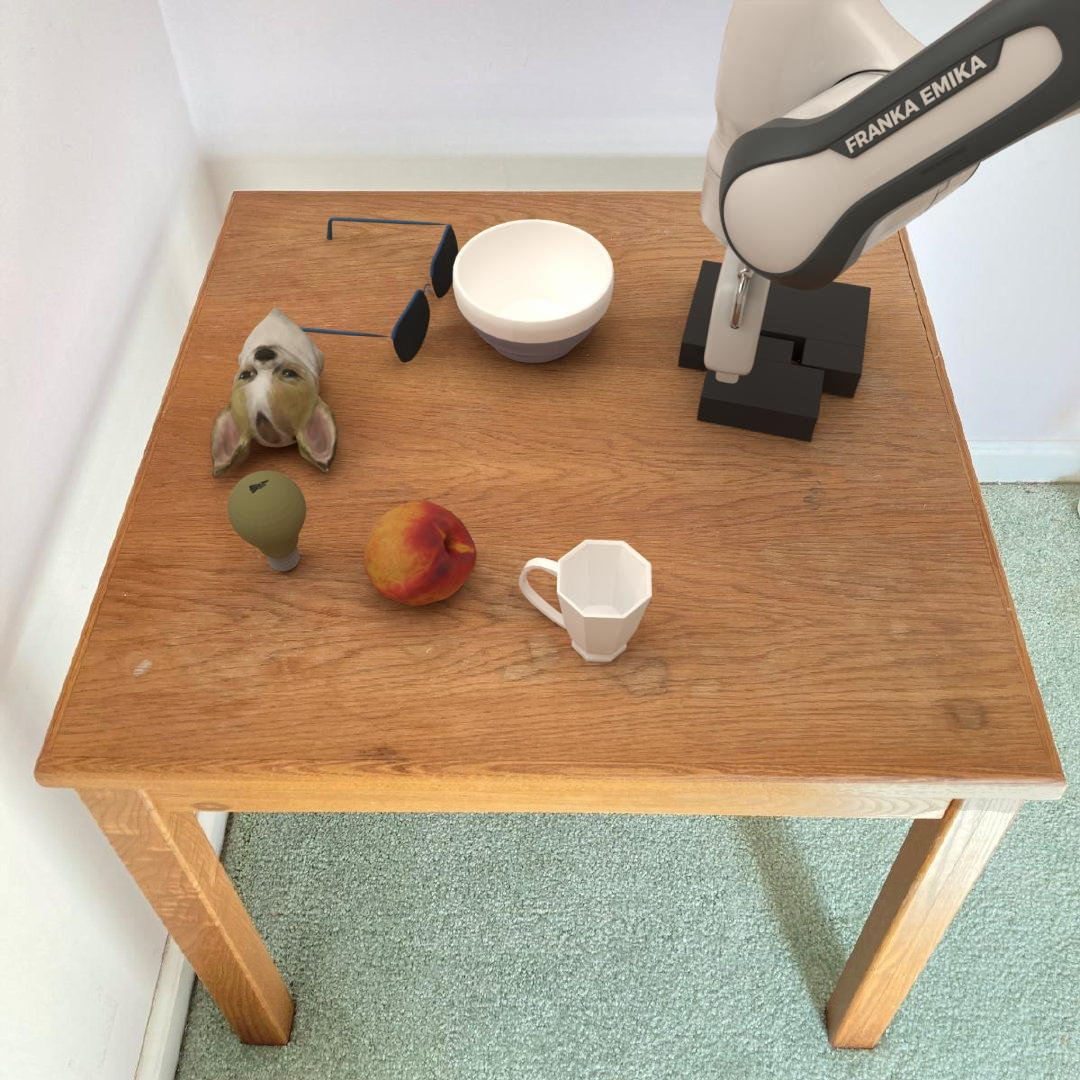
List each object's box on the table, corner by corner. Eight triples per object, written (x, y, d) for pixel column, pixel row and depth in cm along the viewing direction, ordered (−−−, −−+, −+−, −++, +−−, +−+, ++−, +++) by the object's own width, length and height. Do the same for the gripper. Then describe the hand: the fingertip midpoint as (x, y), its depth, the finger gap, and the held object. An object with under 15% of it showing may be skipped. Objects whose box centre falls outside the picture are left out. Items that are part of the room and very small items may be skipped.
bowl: (624, 296, 101) (629, 231, 95) (591, 400, 92) (595, 335, 86) (481, 272, 103) (477, 207, 97) (437, 371, 94) (430, 307, 88)
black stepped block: (820, 371, 94) (828, 347, 92) (810, 442, 89) (817, 418, 87) (712, 352, 96) (717, 327, 94) (696, 420, 91) (700, 396, 88)
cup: (624, 693, 75) (632, 635, 68) (501, 642, 77) (497, 582, 71) (659, 619, 78) (670, 557, 72) (540, 573, 81) (541, 509, 74)
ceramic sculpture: (334, 289, 88) (322, 426, 79) (350, 360, 95) (341, 491, 87) (208, 295, 87) (184, 432, 79) (234, 365, 95) (214, 497, 86)
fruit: (434, 644, 77) (424, 584, 71) (349, 595, 80) (333, 534, 73) (493, 571, 81) (489, 509, 75) (411, 527, 84) (400, 463, 77)
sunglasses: (408, 376, 94) (395, 334, 90) (265, 363, 98) (247, 322, 94) (465, 260, 104) (455, 217, 100) (333, 252, 108) (319, 210, 104)
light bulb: (291, 605, 79) (263, 526, 71) (235, 574, 81) (202, 493, 73) (336, 555, 82) (314, 473, 74) (281, 526, 84) (254, 443, 76)
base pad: (863, 312, 99) (871, 287, 97) (853, 398, 92) (861, 374, 90) (699, 284, 102) (703, 259, 99) (677, 366, 95) (681, 342, 92)
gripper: (789, 291, 69) (756, 433, 80) (819, 126, 80) (787, 269, 91) (695, 276, 70) (676, 418, 81) (739, 115, 81) (717, 258, 93)
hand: (735, 338), depth 86 cm, fingers open, 8 cm apart
